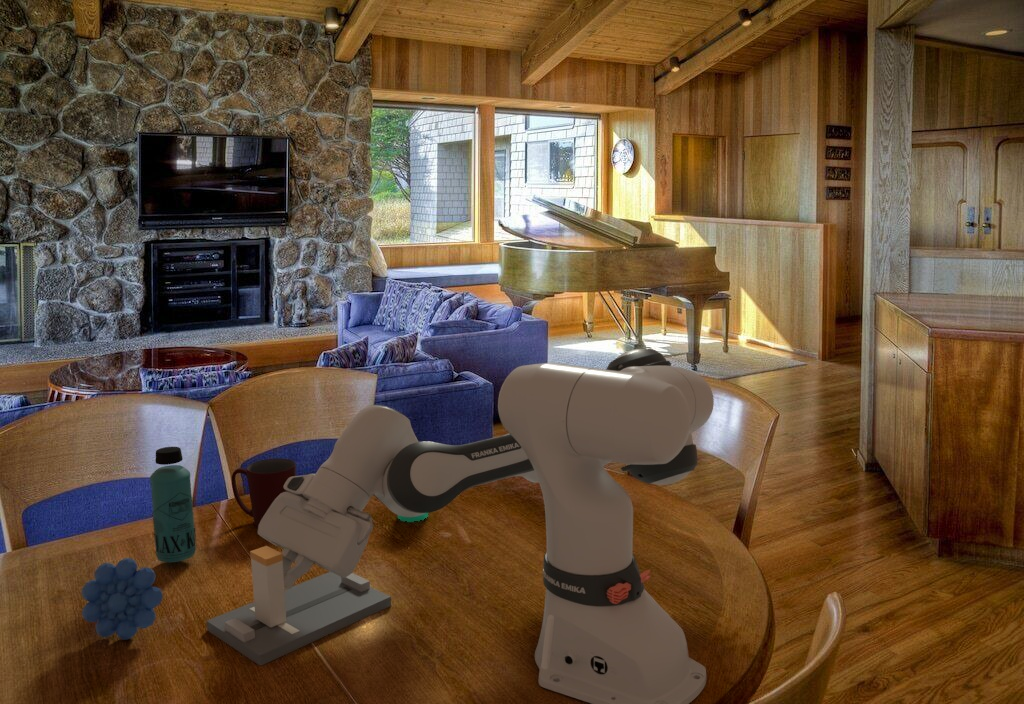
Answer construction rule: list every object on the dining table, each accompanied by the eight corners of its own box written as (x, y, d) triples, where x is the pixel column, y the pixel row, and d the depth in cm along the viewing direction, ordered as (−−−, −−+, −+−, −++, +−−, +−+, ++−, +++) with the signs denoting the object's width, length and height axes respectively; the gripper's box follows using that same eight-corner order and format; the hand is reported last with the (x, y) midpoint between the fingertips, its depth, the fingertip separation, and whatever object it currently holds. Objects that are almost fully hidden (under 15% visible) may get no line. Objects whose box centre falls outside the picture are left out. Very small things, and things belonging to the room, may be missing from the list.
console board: (391, 605, 127) (390, 589, 127) (260, 666, 112) (259, 647, 111) (335, 578, 137) (334, 562, 136) (207, 630, 121) (205, 612, 120)
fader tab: (286, 620, 120) (282, 553, 118) (270, 627, 118) (265, 559, 116) (270, 611, 123) (266, 545, 121) (254, 618, 121) (249, 551, 119)
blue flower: (180, 624, 123) (173, 546, 121) (157, 649, 116) (149, 566, 114) (102, 622, 124) (94, 544, 121) (75, 646, 117) (66, 564, 115)
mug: (226, 530, 157) (222, 473, 155) (243, 512, 166) (239, 458, 164) (291, 530, 157) (287, 473, 155) (304, 513, 165) (301, 458, 163)
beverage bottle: (147, 566, 142) (136, 451, 138) (180, 552, 148) (170, 441, 144) (175, 574, 139) (164, 456, 135) (206, 559, 145) (197, 445, 141)
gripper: (391, 527, 121) (338, 616, 116) (308, 495, 135) (257, 573, 130) (364, 506, 117) (308, 597, 112) (282, 475, 131) (228, 555, 126)
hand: (280, 584), depth 121 cm, fingers closed, pressing on fader tab
